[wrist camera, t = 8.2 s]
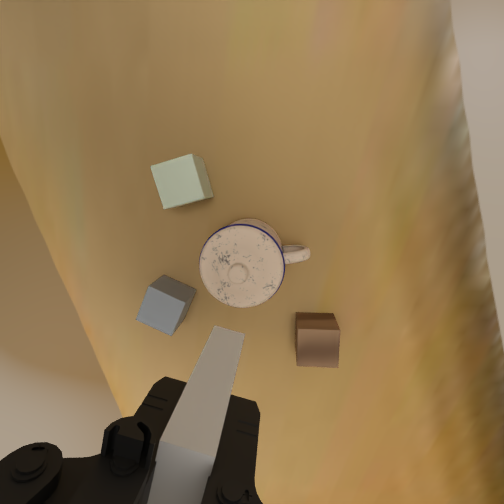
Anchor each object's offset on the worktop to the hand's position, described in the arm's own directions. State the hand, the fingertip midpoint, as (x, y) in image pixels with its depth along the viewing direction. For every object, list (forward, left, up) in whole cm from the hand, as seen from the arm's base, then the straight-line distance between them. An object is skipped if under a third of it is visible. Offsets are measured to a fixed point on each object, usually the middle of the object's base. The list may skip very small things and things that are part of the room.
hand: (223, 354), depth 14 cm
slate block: (+10, -10, -26) cm, 30 cm away
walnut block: (+9, +10, -26) cm, 29 cm away
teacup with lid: (0, 0, -26) cm, 26 cm away
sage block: (-6, -11, -26) cm, 29 cm away
